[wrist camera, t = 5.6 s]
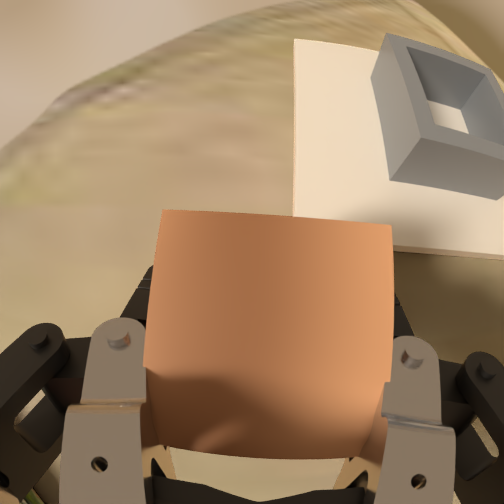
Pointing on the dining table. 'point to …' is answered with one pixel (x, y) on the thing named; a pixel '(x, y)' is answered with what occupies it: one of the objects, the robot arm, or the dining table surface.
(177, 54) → the dining table surface
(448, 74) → the socket stand
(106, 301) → the dining table surface
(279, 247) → the peg
